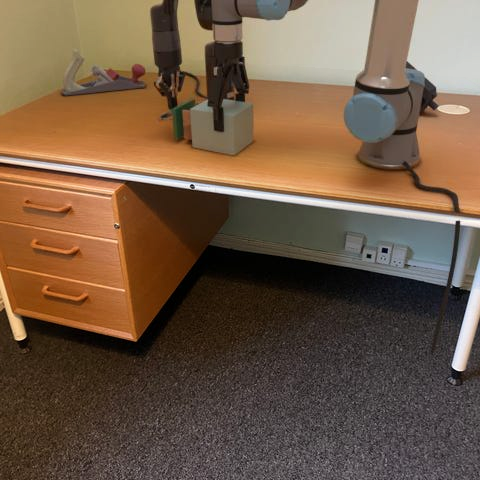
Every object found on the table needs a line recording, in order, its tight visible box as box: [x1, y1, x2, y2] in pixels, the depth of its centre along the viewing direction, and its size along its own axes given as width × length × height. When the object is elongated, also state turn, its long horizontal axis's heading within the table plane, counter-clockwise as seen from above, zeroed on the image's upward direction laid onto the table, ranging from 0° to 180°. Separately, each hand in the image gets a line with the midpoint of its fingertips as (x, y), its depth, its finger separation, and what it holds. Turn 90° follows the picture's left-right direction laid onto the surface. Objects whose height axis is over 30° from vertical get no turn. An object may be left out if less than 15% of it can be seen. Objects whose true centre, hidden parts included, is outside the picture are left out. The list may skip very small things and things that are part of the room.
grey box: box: [190, 99, 254, 156], centre depth 147 cm, size 13×12×11 cm
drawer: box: [156, 98, 203, 141], centre depth 151 cm, size 18×10×9 cm, turn 62°
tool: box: [405, 61, 439, 113], centre depth 169 cm, size 6×19×15 cm, turn 51°
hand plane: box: [61, 48, 146, 96], centre depth 194 cm, size 7×31×15 cm, turn 107°
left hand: (173, 109), depth 152 cm, fingers closed
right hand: (230, 123), depth 146 cm, fingers closed on grey box, 12 cm apart
